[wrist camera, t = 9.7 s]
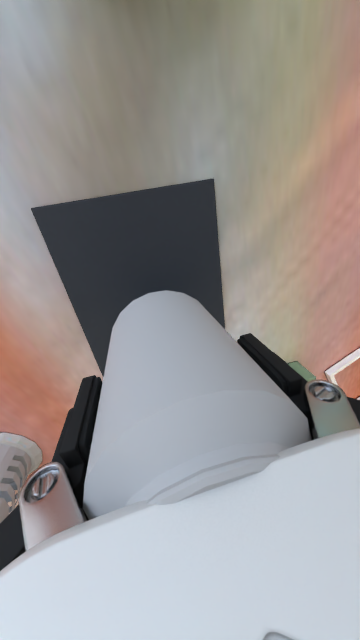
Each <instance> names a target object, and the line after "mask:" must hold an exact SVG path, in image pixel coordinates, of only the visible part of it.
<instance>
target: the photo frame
mask: <svg viewBox="0 0 360 640" xmlns="http://www.w3.org/2000/svg"><path fill="white" fill-rule="evenodd" d="M359 358H360V348H359V349H357V350H356V351H354V352H353V353H351V354H350V355H348V356H347V357H345V358H344V359H343V360H341V361H340V362H338V363H337V364H335V365H334V366H332V367H331V368H329V369H328V370H326V371H325V374H326V376H327V379H328V381H329V382H332V383H334V384H335V385H337V382H336V380H335V377H334V375H335V374H337V373H338V372H339V371H341V370H342V369H344V368H345V367H347V366H348V365H350V364H351V363H353V362H354V361H356V360H357V359H359ZM337 386H338V385H337ZM357 400H360V397H359V398H357Z"/></svg>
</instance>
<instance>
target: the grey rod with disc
mask: <svg viewBox="0 0 360 640" xmlns="http://www.w3.org/2000/svg"><path fill="white" fill-rule="evenodd" d="M41 462H42V451H41V450H40V448H39V447H38V446H37V445H36V443H35V442H33V441H31V440H29V439H27V438H25V437H23V436H20V435H15V434H10V433H0V523H1V522H2V521H3V520H4V519H5V518H6V517H7V516H8V515H9V513H10V512H11V511H13V510H14V509H15V505H16V503H17V501H18V499H19V494H20V488H21V487H22V486H23V485H24V483H25V481H26V479H27V477H28V475H29V474H30V473H32V472H33V471H35V470H36V469H37V468H38V466H39V465H40V463H41ZM14 490H18V493H17V494H16V495H15V491H14ZM15 499H17V501H16V503H15ZM10 501H12V506H11V507H9V505H8V504H7V503H8V502H10Z"/></svg>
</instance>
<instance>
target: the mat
mask: <svg viewBox="0 0 360 640" xmlns="http://www.w3.org/2000/svg"><path fill="white" fill-rule="evenodd" d="M31 210H32V212H33V215H34V217H35V219H36V222H37V224H38V226H39V228H40V231H41V233H42V235H43V238H44V240H45V242H46V245H47V247H48V249H49V252H50V254H51V256H52V259H53V261H54V263H55V266H56V268H57V270H58V273H59V275H60V277H61V280H62V282H63V284H64V287H65V289H66V291H67V294H68V296H69V298H70V301H71V303H72V305H73V308H74V310H75V312H76V315H77V317H78V319H79V322H80V324H81V326H82V329H83V331H84V333H85V336H86V338H87V340H88V343H89V345H90V347H91V350H92V352H93V354H94V357H95V359H96V361H97V364H98V366H99V368H100V371H101V373H102V375H103V378H104V372H105V366H106V361H107V355H108V350H109V344H110V339H111V333H112V328H113V326H114V324H115V322H116V320H117V318H118V316H119V314H120V313H121V312H122V311H123V310H124V309H125V308H126V307H127V306H128V305H129V304H130V303H131V302H132V301H133V300H135V299H137V298H139V297H142V296H144V295H146V294H148V293H152V292H158V291H165V290H168V291H174V292H181V293H185V294H186V295H188V296H190V297H192V298H194V299H196V300H198V301H199V302H200V304H201V305H202V306H203V307H204V308H205V309H206V310H207V311H208V312H209V313H210V314H211V315H212V316H213V317H214V318H215V320H216V321H217V322H218V323H219V324H220V325H221V326H222V327H223V328H224V329H225V323H224V309H223V296H222V283H221V269H220V256H219V243H218V229H217V216H216V203H215V189H214V179H208V180H202V181H196V182H190V183H184V184H178V185H171V186H165V187H159V188H153V189H147V190H141V191H134V192H128V193H122V194H116V195H110V196H104V197H98V198H91V199H85V200H79V201H73V202H67V203H61V204H54V205H48V206H42V207H36V208H31Z"/></svg>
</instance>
